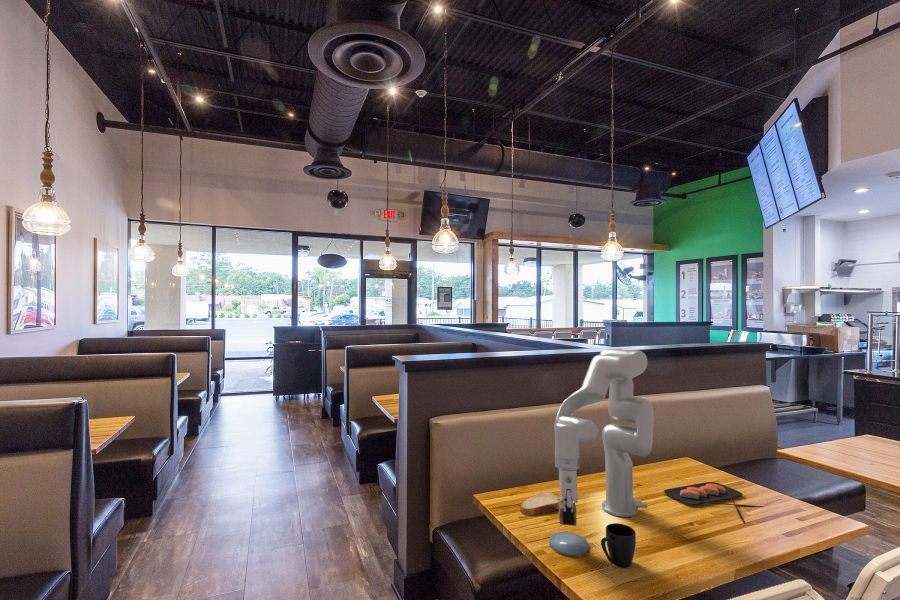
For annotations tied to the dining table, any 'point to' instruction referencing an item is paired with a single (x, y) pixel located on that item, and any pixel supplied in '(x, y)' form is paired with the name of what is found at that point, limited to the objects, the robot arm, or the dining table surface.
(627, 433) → the robot arm
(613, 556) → the mug
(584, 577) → the dining table surface
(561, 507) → the block
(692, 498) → the sushi plate
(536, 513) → the bread slice
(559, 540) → the dish
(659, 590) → the dining table surface
